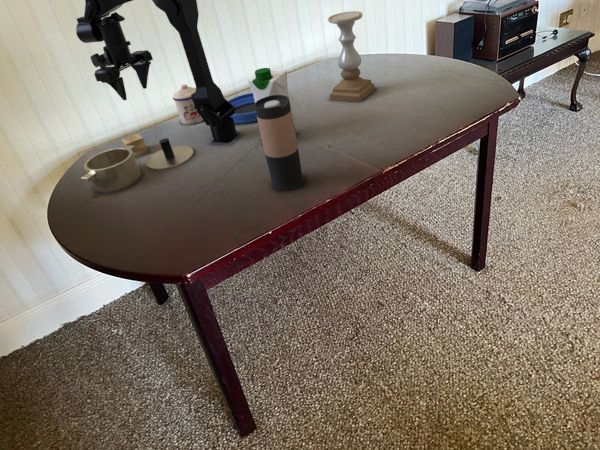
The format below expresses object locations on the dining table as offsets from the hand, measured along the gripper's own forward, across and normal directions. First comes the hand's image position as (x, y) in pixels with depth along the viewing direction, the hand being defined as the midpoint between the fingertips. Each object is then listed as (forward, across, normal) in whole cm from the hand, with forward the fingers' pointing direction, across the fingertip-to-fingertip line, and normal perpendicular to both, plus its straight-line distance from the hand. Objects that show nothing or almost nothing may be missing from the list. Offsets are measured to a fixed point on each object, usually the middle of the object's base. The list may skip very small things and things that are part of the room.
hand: (135, 94), depth 139 cm
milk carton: (+15, -3, +45) cm, 47 cm away
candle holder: (+15, -35, +55) cm, 67 cm away
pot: (+14, +26, +9) cm, 31 cm away
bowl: (+14, -20, +26) cm, 36 cm away
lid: (+14, +13, +18) cm, 26 cm away
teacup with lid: (+14, -15, +8) cm, 22 cm away
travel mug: (+15, +20, +57) cm, 62 cm away
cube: (+14, +11, +4) cm, 18 cm away
